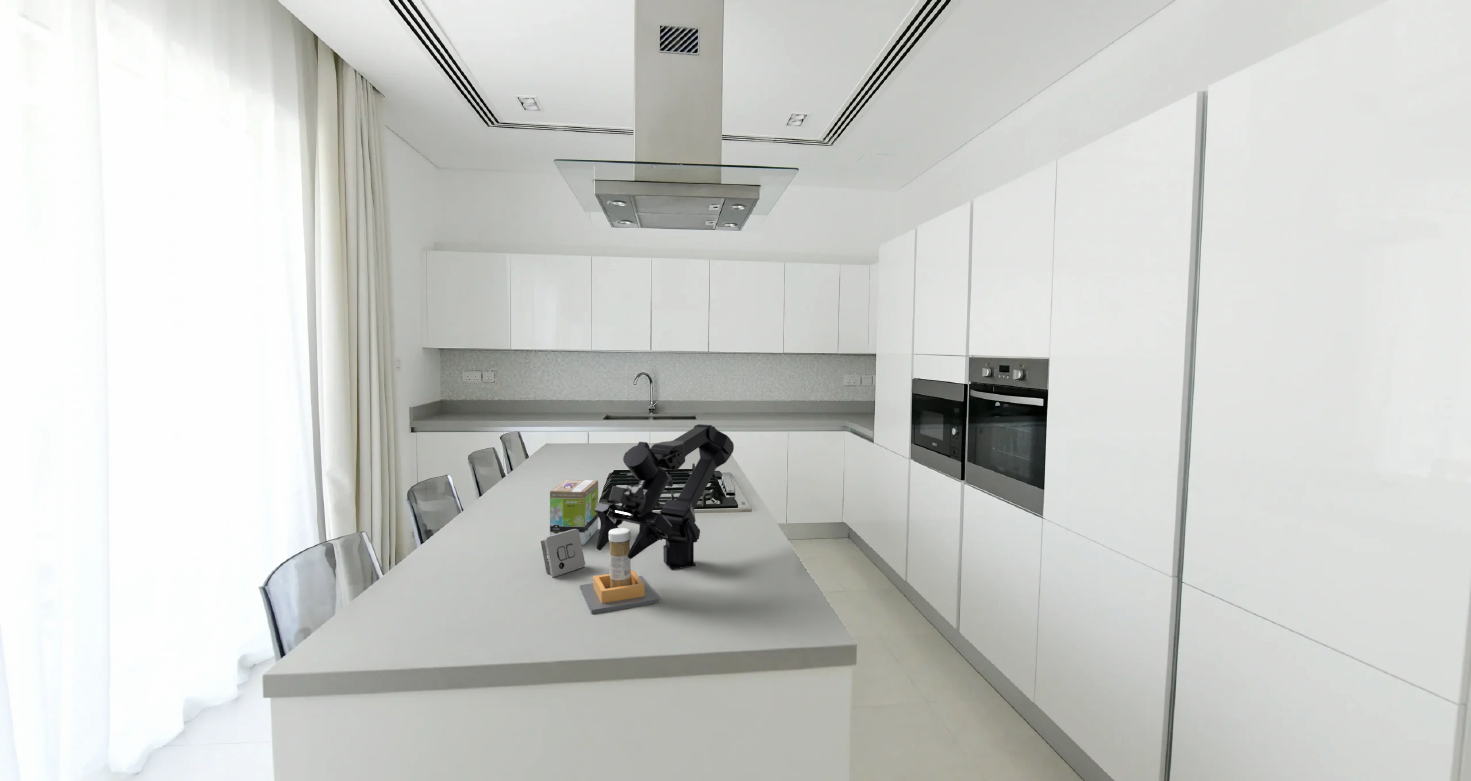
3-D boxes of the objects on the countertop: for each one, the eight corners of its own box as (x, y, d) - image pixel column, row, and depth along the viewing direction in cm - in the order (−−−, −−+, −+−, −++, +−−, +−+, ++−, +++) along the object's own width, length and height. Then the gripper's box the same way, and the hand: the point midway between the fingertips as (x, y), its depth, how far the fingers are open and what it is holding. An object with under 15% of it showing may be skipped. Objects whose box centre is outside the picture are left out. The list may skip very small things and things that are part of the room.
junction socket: (642, 579, 144) (641, 564, 143) (659, 602, 131) (659, 587, 131) (579, 588, 138) (579, 573, 138) (591, 613, 125) (591, 597, 125)
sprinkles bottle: (622, 585, 138) (621, 525, 137) (635, 591, 135) (634, 529, 134) (605, 591, 134) (604, 530, 133) (618, 597, 131) (617, 534, 130)
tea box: (586, 545, 167) (585, 490, 166) (548, 545, 167) (547, 490, 166) (599, 528, 182) (598, 478, 181) (565, 528, 182) (563, 478, 181)
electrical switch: (553, 578, 144) (549, 538, 144) (540, 575, 147) (536, 536, 147) (586, 567, 151) (583, 529, 151) (573, 564, 155) (570, 527, 154)
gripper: (599, 466, 141) (561, 526, 133) (662, 476, 130) (625, 542, 122) (625, 493, 148) (590, 552, 140) (687, 505, 137) (653, 569, 129)
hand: (613, 553), depth 133 cm, fingers open, 9 cm apart
